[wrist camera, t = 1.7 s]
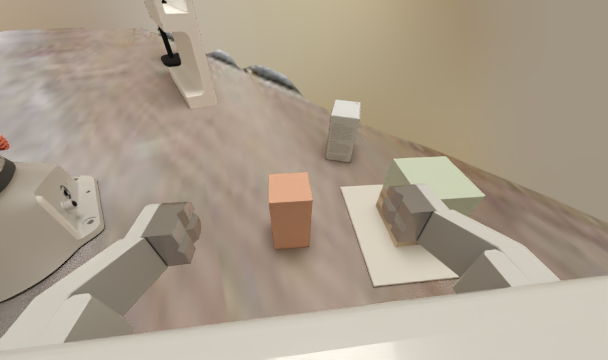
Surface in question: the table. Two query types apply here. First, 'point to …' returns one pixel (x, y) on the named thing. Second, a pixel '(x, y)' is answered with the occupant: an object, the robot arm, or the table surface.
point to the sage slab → (437, 181)
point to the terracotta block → (290, 209)
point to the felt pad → (388, 244)
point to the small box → (343, 130)
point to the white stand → (185, 50)
